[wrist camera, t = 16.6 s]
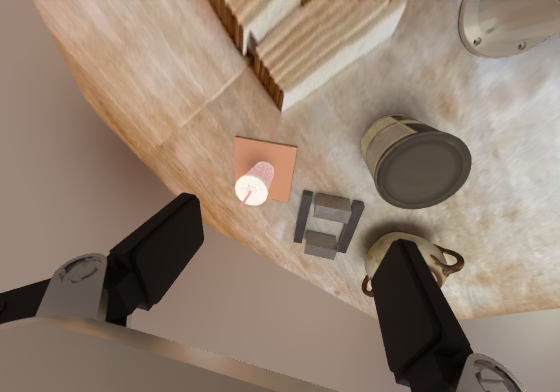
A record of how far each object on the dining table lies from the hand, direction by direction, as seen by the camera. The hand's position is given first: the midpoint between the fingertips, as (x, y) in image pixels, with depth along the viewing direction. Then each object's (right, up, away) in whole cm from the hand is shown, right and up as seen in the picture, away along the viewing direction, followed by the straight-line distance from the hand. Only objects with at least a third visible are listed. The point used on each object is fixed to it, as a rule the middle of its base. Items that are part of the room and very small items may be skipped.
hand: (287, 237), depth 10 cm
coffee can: (+20, +12, +27) cm, 35 cm away
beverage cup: (-4, +8, +34) cm, 35 cm away
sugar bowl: (+27, -10, +38) cm, 47 cm away
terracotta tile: (-4, +8, +34) cm, 35 cm away
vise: (+11, -4, +38) cm, 39 cm away
